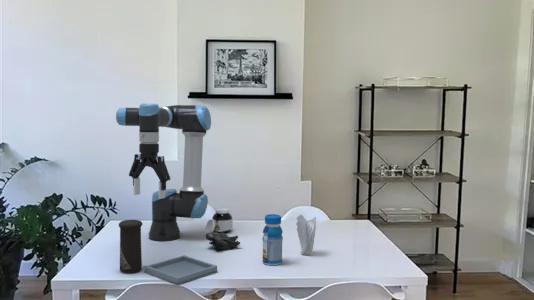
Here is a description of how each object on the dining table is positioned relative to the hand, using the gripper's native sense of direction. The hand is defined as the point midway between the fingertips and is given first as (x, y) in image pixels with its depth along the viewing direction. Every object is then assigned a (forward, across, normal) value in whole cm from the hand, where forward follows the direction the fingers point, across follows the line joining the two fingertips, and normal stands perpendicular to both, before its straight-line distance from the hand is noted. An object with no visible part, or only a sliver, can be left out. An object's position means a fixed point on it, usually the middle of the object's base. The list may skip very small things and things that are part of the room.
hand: (149, 196), depth 207 cm
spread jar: (+29, -12, +61) cm, 68 cm away
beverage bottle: (+29, +36, +34) cm, 58 cm away
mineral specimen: (+29, +7, +39) cm, 49 cm away
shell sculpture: (+29, +42, +54) cm, 74 cm away
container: (+29, -4, -6) cm, 30 cm away
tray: (+29, +14, +3) cm, 32 cm away
